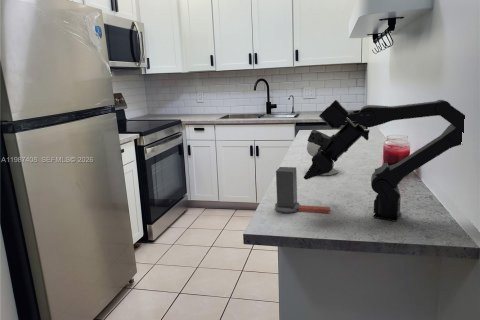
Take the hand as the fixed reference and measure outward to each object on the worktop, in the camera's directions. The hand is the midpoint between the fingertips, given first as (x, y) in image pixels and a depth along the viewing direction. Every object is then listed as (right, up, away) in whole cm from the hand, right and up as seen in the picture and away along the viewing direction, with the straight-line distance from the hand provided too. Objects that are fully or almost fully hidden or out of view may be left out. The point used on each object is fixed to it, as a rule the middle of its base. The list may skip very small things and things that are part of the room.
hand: (307, 174), depth 114 cm
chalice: (+16, -1, +45) cm, 48 cm away
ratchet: (-1, -12, +3) cm, 12 cm away
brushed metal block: (-6, -10, +5) cm, 12 cm away
